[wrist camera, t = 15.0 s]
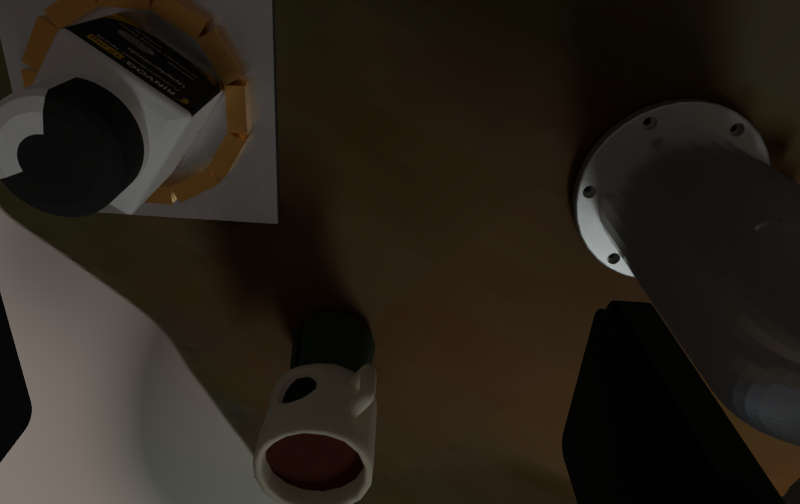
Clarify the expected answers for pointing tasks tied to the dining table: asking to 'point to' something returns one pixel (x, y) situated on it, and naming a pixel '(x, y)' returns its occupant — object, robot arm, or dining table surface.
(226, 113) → the white square ringed board
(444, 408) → the dining table surface
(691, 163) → the robot arm
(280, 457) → the character mug
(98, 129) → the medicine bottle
